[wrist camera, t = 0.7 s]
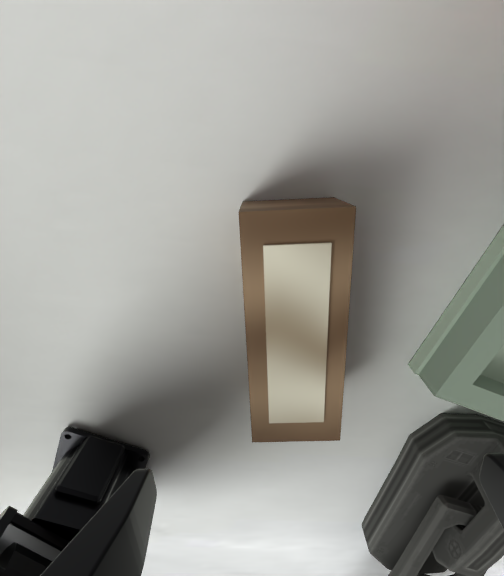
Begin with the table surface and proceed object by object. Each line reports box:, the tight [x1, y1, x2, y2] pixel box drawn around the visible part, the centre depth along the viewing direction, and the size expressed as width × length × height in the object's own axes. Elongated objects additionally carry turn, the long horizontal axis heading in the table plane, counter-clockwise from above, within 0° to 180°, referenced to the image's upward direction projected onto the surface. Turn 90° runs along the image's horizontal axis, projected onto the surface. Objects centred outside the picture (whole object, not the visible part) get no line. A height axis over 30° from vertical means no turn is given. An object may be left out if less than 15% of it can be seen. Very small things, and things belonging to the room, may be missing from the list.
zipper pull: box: [362, 413, 504, 576], centre depth 24 cm, size 9×7×25 cm
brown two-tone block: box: [239, 197, 356, 442], centre depth 18 cm, size 13×5×5 cm, turn 3°
